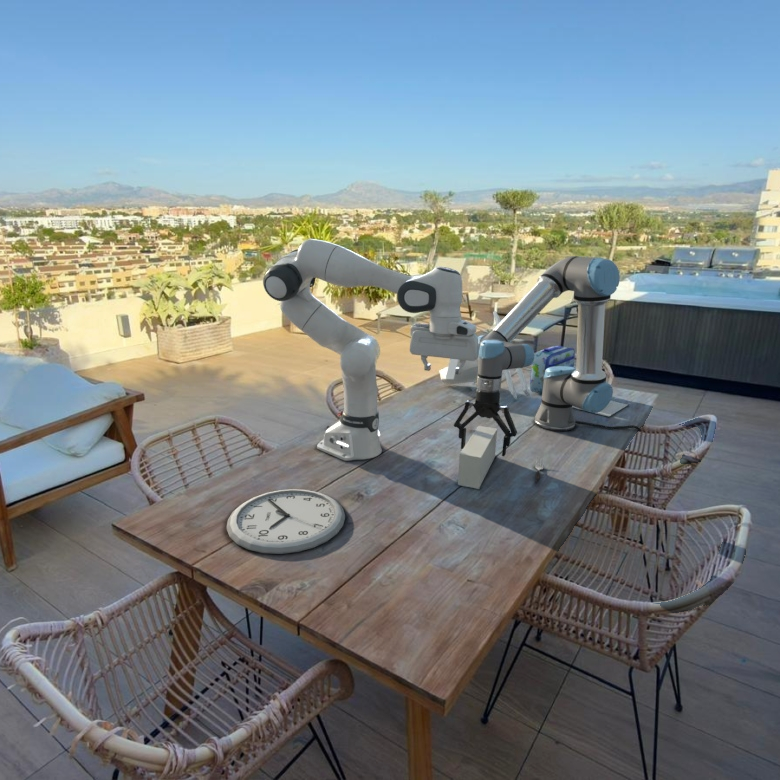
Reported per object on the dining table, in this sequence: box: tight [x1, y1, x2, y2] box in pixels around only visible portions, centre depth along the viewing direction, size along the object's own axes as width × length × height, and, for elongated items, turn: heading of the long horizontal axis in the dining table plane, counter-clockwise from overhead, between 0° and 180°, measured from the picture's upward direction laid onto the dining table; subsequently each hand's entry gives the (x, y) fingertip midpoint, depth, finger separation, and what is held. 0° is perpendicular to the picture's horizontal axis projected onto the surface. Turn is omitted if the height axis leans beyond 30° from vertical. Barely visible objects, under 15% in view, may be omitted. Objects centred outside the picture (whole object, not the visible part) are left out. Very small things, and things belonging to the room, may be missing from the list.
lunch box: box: [529, 345, 576, 394], centre depth 244 cm, size 26×11×21 cm, turn 135°
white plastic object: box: [438, 310, 531, 400], centre depth 245 cm, size 37×45×31 cm
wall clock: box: [226, 488, 346, 555], centre depth 135 cm, size 30×2×30 cm
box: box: [457, 425, 498, 490], centre depth 164 cm, size 25×6×10 cm, turn 158°
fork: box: [534, 457, 545, 484], centre depth 163 cm, size 3×16×2 cm, turn 160°
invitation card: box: [573, 400, 629, 418], centre depth 226 cm, size 21×1×15 cm
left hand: (442, 372), depth 154 cm, fingers open, 8 cm apart
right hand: (483, 451), depth 172 cm, fingers open, 13 cm apart
